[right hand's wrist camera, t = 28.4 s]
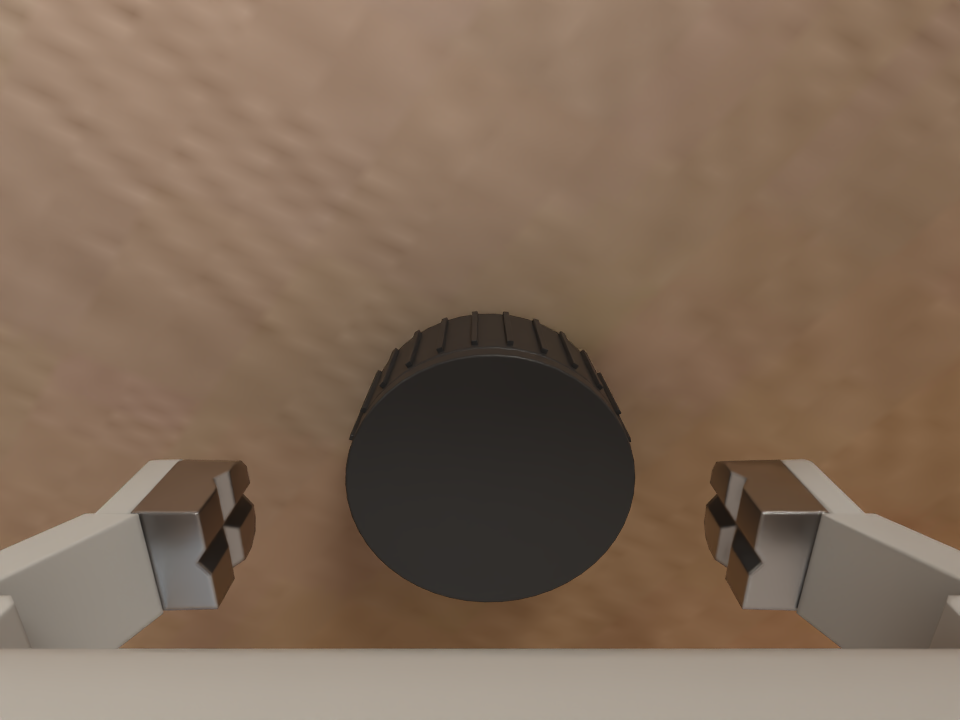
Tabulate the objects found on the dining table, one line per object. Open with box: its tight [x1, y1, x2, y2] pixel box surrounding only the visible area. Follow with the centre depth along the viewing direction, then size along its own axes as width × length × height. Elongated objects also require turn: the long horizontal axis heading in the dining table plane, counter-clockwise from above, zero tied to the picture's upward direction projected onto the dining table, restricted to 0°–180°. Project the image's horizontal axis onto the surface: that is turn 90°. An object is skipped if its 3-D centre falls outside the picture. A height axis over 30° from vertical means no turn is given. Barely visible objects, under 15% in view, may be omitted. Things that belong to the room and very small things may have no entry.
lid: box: [345, 312, 635, 602], centre depth 11 cm, size 5×5×2 cm
